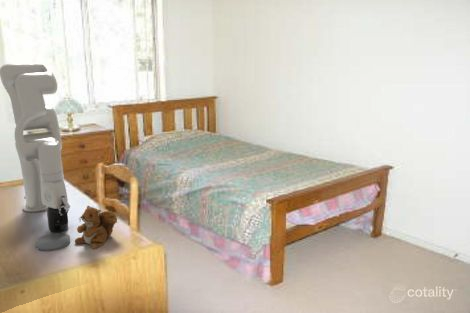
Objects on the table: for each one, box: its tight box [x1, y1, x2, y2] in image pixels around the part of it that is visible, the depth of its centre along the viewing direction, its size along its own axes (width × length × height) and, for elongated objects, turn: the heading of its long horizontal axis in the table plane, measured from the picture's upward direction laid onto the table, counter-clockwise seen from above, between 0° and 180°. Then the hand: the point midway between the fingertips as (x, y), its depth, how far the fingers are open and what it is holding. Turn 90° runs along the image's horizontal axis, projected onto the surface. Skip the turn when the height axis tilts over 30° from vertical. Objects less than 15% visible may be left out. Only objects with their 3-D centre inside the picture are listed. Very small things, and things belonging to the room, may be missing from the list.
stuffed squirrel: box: [74, 205, 119, 250], centre depth 149 cm, size 10×14×13 cm
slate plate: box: [35, 232, 71, 252], centre depth 148 cm, size 11×11×2 cm
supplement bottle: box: [46, 205, 69, 234], centre depth 158 cm, size 7×7×12 cm
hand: (58, 221), depth 159 cm, fingers closed on supplement bottle, 6 cm apart
